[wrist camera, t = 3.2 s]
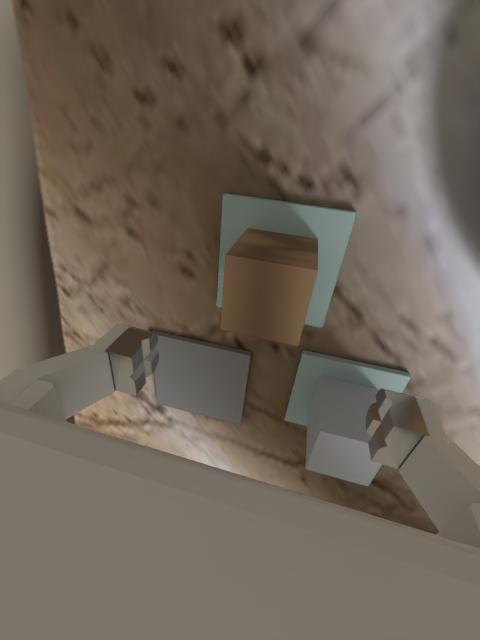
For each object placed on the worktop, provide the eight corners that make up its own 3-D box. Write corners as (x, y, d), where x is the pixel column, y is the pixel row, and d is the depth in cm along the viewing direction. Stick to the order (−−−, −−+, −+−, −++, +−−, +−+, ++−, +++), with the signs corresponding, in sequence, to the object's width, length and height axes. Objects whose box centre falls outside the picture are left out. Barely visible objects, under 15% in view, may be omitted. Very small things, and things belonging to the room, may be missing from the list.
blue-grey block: (377, 388, 25) (391, 449, 20) (359, 425, 28) (368, 486, 23) (319, 375, 26) (320, 431, 21) (307, 412, 29) (305, 469, 24)
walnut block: (318, 238, 20) (318, 270, 15) (302, 301, 23) (298, 346, 18) (247, 228, 21) (225, 254, 16) (241, 290, 23) (220, 329, 18)
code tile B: (409, 372, 24) (410, 377, 24) (372, 437, 29) (373, 443, 29) (302, 349, 26) (302, 353, 25) (284, 416, 30) (284, 420, 30)
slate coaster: (251, 351, 27) (250, 355, 27) (241, 420, 32) (240, 425, 32) (153, 330, 29) (150, 333, 28) (159, 399, 34) (156, 403, 33)
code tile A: (355, 211, 19) (356, 213, 19) (322, 323, 24) (322, 327, 23) (225, 193, 20) (222, 194, 20) (218, 303, 25) (216, 306, 25)
